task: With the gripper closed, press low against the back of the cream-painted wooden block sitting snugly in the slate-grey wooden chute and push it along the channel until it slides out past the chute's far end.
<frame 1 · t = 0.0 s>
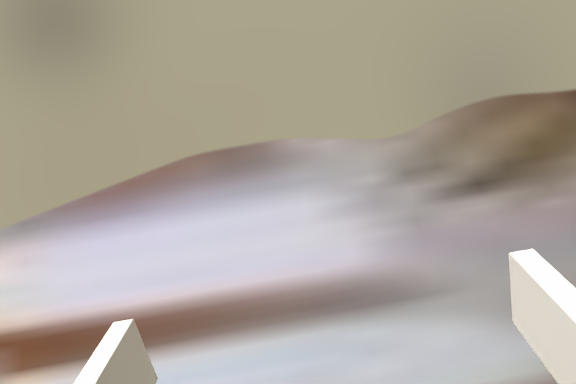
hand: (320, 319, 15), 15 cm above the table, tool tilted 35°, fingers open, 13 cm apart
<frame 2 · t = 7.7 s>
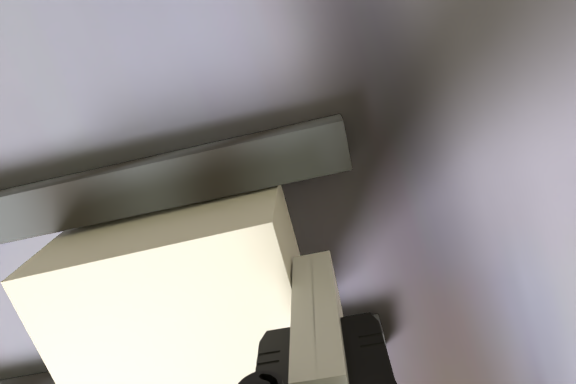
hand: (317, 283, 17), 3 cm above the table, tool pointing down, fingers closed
chute: (139, 285, 21), on the table
cream block: (196, 267, 21), on the table
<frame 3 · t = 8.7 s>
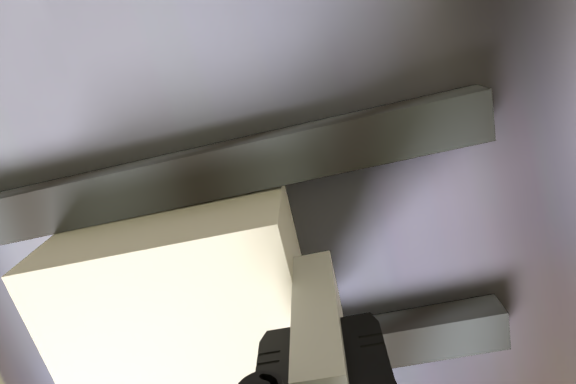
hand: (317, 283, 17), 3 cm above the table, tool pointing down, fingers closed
chute: (250, 264, 20), on the table
cream block: (196, 266, 21), on the table, touching gripper
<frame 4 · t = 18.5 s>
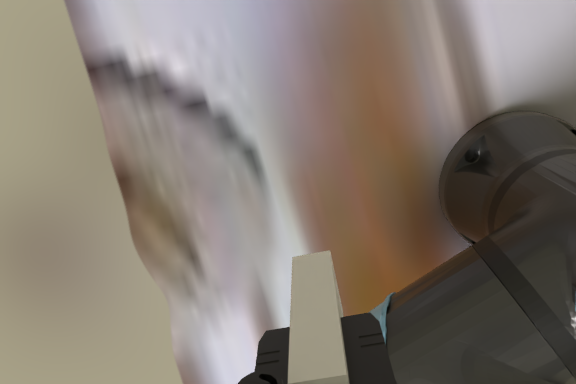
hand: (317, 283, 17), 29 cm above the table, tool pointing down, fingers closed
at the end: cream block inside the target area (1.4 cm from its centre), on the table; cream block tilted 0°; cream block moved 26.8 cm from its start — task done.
